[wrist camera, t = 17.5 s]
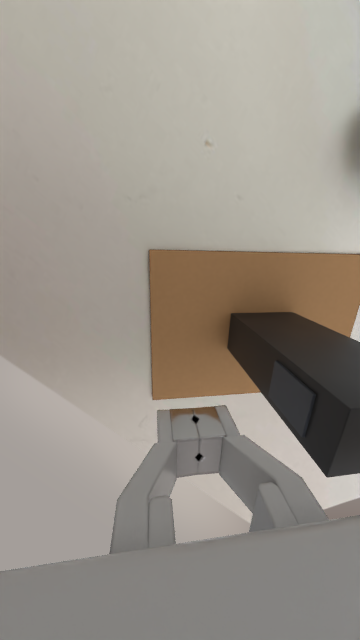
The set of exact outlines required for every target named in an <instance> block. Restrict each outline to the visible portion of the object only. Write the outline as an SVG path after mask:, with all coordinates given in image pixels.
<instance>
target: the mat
mask: <svg viewBox="0 0 360 640" xmlns="http://www.w3.org/2000/svg"><path fill="white" fill-rule="evenodd" d="M149 262H150V306H151V350H152V394H153V400H161V399H174V398H188V397H202V396H216V395H230V394H244V393H258V392H261V391H260V390H259V389H258V388H257V386H256V385H255V384H254V382H253V381H252V380H251V378H250V377H249V376H248V375H247V373H246V372H245V371H244V369H243V368H242V367H241V366H240V364H239V363H238V362H237V360H236V359H235V358H234V356H233V355H232V354H231V353H230V351H229V350H228V349H227V346H228V337H229V327H230V317H231V313H265V312H294V313H296V314H298V315H300V316H303V317H305V318H307V319H309V320H311V321H314V322H316V323H318V324H320V325H323V326H325V327H327V328H329V329H332V330H334V331H336V332H338V333H340V334H343V335H345V336H347V337H349V338H350V335H351V332H352V328H353V325H354V322H355V319H356V315H357V312H358V309H359V305H360V254H320V253H276V252H232V251H188V250H149Z"/></svg>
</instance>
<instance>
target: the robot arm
mask: <svg viewBox="0 0 360 640" xmlns="http://www.w3.org/2000/svg"><path fill="white" fill-rule="evenodd" d="M157 433H158V443H155V444H154V445H153V447H152V448H151V450H150V451H149V453H148V454H147V456H146V457H145V459H144V460H143V462H142V463H141V465H140V466H139V468H138V469H137V471H136V473H135V474H134V475H133V477H132V478H131V480H130V482H129V483H128V484H127V486H126V487H125V489H124V490H123V492H122V493H121V495H120V497H119V498H118V500H117V504H116V511H115V518H114V526H113V533H112V540H111V547H110V554H108V555H102V556H95V557H89V558H83V559H76V560H70V561H63V562H57V563H51V564H44V565H38V566H31V567H25V568H18V569H12V570H5V571H0V640H360V515H357V516H352V517H345V518H339V519H332V520H329V518H328V517H327V515H326V514H325V512H324V511H323V509H322V508H321V506H320V505H319V503H318V502H317V500H316V498H315V497H314V495H313V494H312V492H311V491H310V489H309V488H308V486H307V485H306V483H305V482H304V480H303V479H302V477H300V476H299V475H298V474H296V473H295V472H294V471H292V470H291V469H290V468H288V467H287V466H285V465H284V464H283V463H281V462H280V461H279V460H277V459H276V458H275V457H273V456H272V455H270V454H269V453H268V452H266V451H265V450H264V449H262V448H261V447H260V446H258V445H257V444H255V443H254V442H253V441H251V440H250V439H249V438H247V437H246V436H245V435H240V433H239V431H238V429H237V427H236V425H235V423H234V421H233V419H232V417H231V415H230V413H229V411H228V409H227V407H226V406H225V405H222V406H214V407H201V408H188V409H169V410H157ZM211 473H219V475H220V476H221V477H222V478H223V479H224V480H225V482H226V483H227V484H228V485H229V486H230V487H231V489H232V490H233V491H234V492H235V493H236V494H237V496H238V497H239V498H240V499H241V500H242V502H243V503H244V504H245V505H246V506H247V507H248V509H249V510H250V511H251V512H252V513H253V516H252V521H251V525H250V530H249V532H248V533H242V534H236V535H230V536H223V537H217V538H210V539H204V540H198V541H191V542H185V543H179V544H176V542H175V531H174V520H173V510H172V499H171V498H169V497H170V494H171V492H172V489H173V487H174V484H175V482H176V478H178V477H185V476H192V475H199V474H211Z"/></svg>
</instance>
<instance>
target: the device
mask: <svg viewBox="0 0 360 640" xmlns="http://www.w3.org/2000/svg"><path fill="white" fill-rule="evenodd" d="M227 349H228V350H229V351H230V353H231V354H232V355H233V356H234V358H235V359H236V360H237V362H238V363H239V364H240V366H241V367H242V368H243V369H244V371H245V372H246V373H247V375H248V376H249V377H250V378H251V380H252V381H253V382H254V384H255V385H256V386H257V388H258V389H259V390H260V391H261V393H262V394H263V395H264V397H265V398H266V399H267V400H268V402H269V403H270V404H271V406H272V407H273V408H274V410H275V411H276V412H277V413H278V415H279V416H280V417H281V419H282V420H283V421H284V423H285V424H286V425H287V426H288V428H289V429H290V430H291V432H292V433H293V434H294V435H295V437H296V438H297V439H298V441H299V442H300V443H301V445H302V446H303V447H304V448H305V450H306V451H307V452H308V454H309V455H310V456H311V458H312V459H313V460H314V461H315V463H316V464H317V465H318V467H319V468H320V469H321V470H322V472H323V473H324V474H325V476H326V477H335V476H342V475H349V474H357V473H360V342H358V341H356V340H354V339H352V338H349V337H347V336H345V335H343V334H340V333H338V332H336V331H334V330H332V329H329V328H327V327H325V326H323V325H320V324H318V323H316V322H314V321H311V320H309V319H307V318H305V317H303V316H300V315H298V314H296V313H294V312H265V313H231V317H230V327H229V337H228V346H227Z"/></svg>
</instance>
